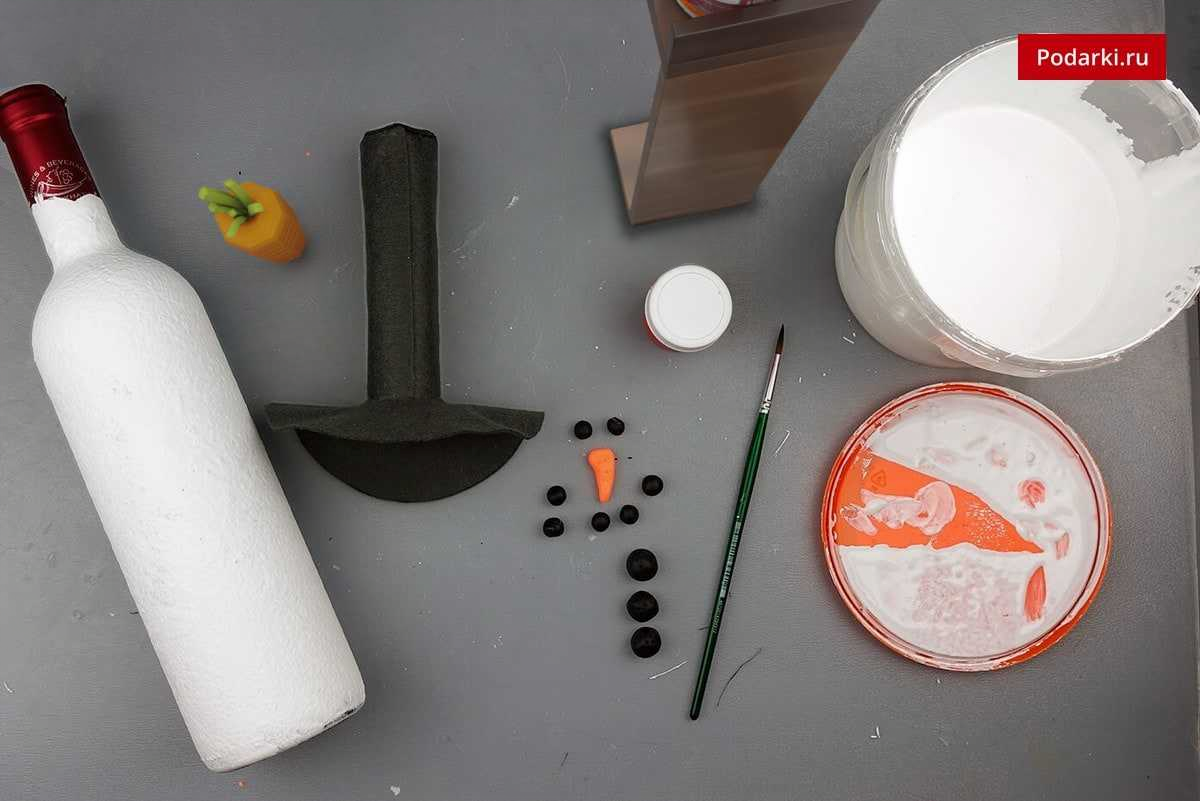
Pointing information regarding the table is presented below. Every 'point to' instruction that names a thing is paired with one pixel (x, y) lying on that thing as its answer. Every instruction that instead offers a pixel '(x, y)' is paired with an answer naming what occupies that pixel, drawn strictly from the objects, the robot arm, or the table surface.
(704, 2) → the pill bottle
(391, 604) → the table surface
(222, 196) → the carrot
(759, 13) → the rack
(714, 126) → the stand
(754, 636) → the table surface
